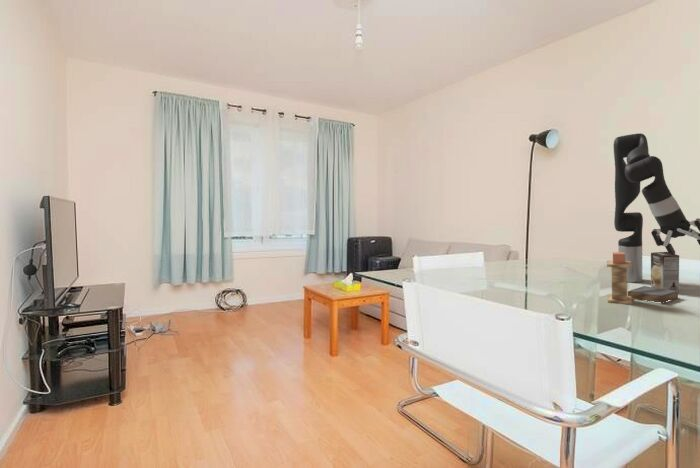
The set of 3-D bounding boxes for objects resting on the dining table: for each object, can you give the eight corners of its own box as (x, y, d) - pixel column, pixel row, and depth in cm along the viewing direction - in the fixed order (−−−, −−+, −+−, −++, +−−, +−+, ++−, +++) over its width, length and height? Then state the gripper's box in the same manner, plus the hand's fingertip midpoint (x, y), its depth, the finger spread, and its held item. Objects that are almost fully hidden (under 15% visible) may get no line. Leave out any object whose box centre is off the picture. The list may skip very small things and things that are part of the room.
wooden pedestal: (607, 302, 150) (607, 264, 149) (607, 297, 157) (606, 260, 155) (632, 304, 146) (631, 265, 144) (631, 298, 152) (630, 261, 151)
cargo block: (613, 263, 149) (612, 253, 149) (612, 261, 153) (612, 252, 152) (625, 263, 147) (625, 254, 147) (624, 261, 150) (624, 252, 150)
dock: (627, 297, 154) (627, 290, 154) (643, 292, 159) (643, 285, 159) (661, 304, 143) (661, 296, 143) (677, 298, 148) (677, 291, 148)
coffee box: (649, 287, 165) (649, 252, 164) (666, 286, 164) (666, 251, 163) (662, 292, 157) (662, 255, 155) (680, 292, 155) (680, 255, 154)
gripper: (693, 200, 125) (717, 241, 125) (646, 213, 137) (667, 251, 137) (688, 207, 121) (712, 250, 121) (639, 220, 133) (661, 259, 132)
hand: (688, 251), depth 129 cm, fingers open, 8 cm apart
